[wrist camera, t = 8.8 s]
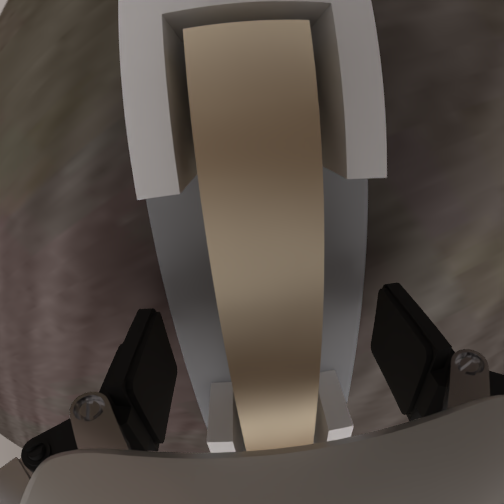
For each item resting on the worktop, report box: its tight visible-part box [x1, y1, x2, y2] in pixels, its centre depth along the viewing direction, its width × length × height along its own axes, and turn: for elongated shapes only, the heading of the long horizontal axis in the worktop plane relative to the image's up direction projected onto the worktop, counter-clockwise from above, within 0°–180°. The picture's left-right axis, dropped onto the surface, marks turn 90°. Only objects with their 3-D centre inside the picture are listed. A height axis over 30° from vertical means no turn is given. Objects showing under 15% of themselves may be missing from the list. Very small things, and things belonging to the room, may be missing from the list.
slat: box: [183, 20, 324, 451], centre depth 12 cm, size 20×3×4 cm, turn 5°
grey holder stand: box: [118, 0, 387, 453], centre depth 13 cm, size 24×9×6 cm, turn 5°
